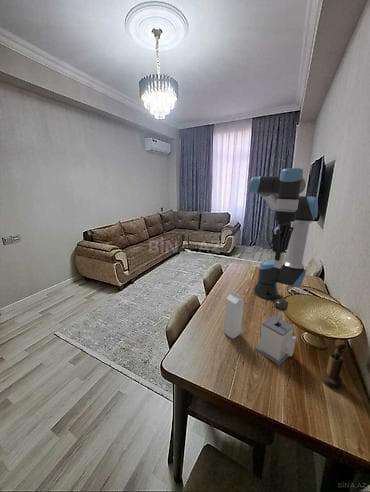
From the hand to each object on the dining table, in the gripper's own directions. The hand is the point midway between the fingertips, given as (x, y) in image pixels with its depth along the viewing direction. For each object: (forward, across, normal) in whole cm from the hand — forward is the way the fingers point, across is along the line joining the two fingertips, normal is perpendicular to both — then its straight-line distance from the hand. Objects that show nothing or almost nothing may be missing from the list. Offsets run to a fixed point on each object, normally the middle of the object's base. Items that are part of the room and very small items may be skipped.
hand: (277, 267), depth 88 cm
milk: (+37, +8, -14) cm, 41 cm away
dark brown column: (+38, -1, +26) cm, 46 cm away
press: (+37, +2, +5) cm, 38 cm away
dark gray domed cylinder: (+27, +3, +5) cm, 27 cm away
